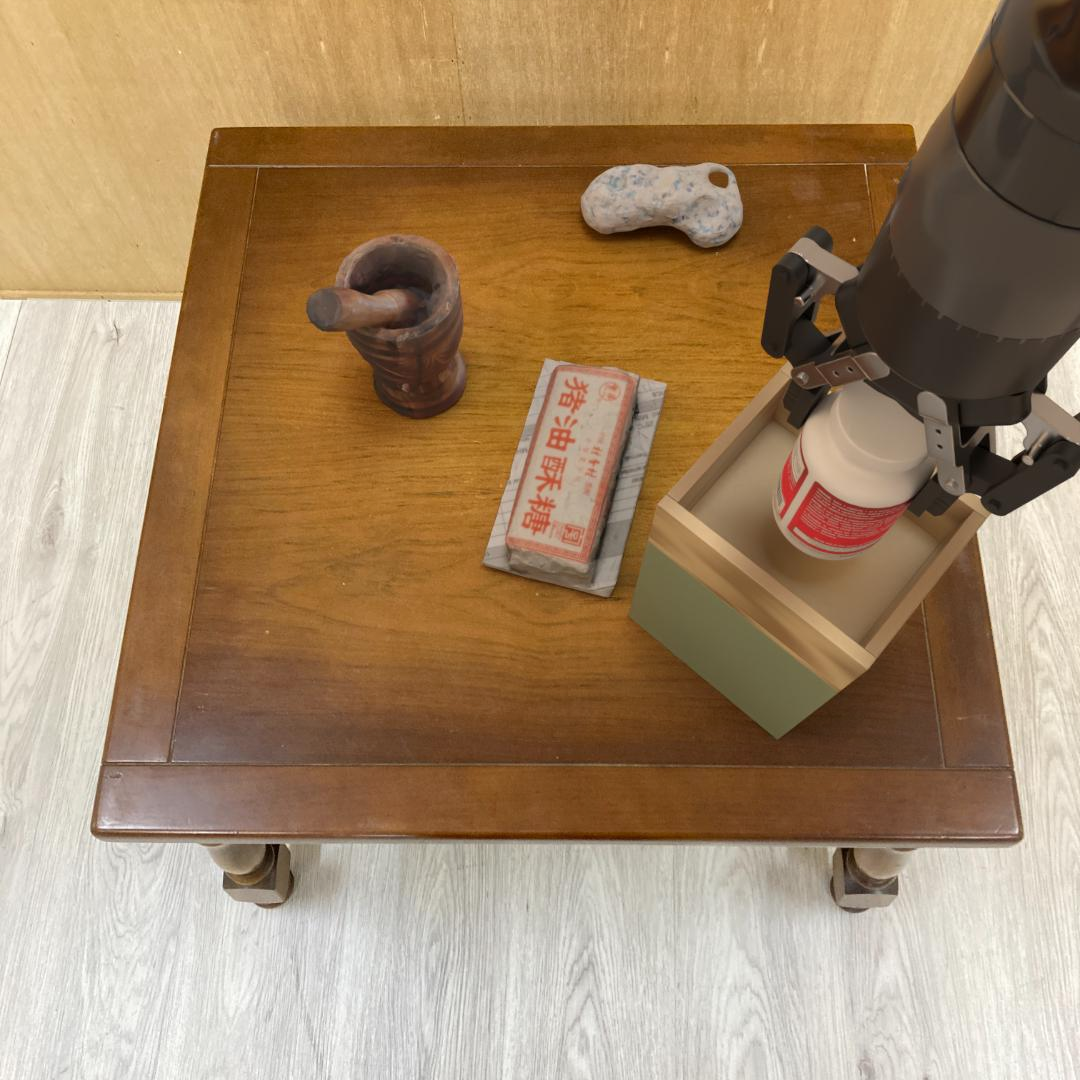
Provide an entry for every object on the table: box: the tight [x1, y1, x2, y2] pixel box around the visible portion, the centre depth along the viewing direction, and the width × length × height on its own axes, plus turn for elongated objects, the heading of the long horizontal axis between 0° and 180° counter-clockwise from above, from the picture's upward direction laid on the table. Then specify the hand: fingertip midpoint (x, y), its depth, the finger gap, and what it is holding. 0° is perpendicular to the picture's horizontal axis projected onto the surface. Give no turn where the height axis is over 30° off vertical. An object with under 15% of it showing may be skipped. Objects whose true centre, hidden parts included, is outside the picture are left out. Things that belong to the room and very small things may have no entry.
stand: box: [627, 540, 840, 740], centre depth 67 cm, size 14×12×16 cm
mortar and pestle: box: [305, 233, 467, 419], centre depth 71 cm, size 12×9×20 cm
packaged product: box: [481, 357, 668, 598], centre depth 76 cm, size 18×5×10 cm
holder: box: [647, 360, 992, 693], centre depth 57 cm, size 14×12×6 cm
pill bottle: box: [772, 380, 937, 561], centre depth 49 cm, size 6×6×11 cm
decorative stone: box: [580, 161, 744, 249], centre depth 84 cm, size 13×7×5 cm, turn 94°
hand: (862, 455), depth 48 cm, fingers closed on pill bottle, 6 cm apart
